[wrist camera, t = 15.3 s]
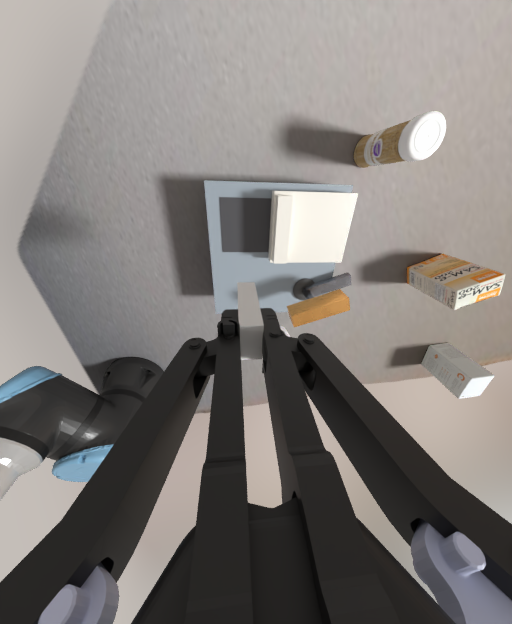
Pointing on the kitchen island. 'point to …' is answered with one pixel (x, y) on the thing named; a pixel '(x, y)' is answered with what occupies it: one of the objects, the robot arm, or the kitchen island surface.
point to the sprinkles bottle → (402, 141)
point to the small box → (456, 370)
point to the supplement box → (455, 281)
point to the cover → (309, 226)
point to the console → (255, 244)
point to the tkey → (321, 300)
